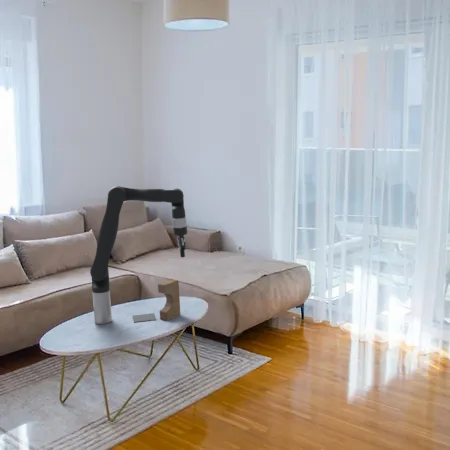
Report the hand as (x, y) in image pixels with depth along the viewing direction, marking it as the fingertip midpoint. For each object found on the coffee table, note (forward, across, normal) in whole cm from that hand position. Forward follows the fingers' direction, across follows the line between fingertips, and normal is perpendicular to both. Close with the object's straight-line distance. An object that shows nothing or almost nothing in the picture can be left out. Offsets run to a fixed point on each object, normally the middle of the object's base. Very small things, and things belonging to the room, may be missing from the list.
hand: (182, 257), depth 323 cm
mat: (+32, -3, -24) cm, 40 cm away
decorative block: (+33, +1, -10) cm, 34 cm away
